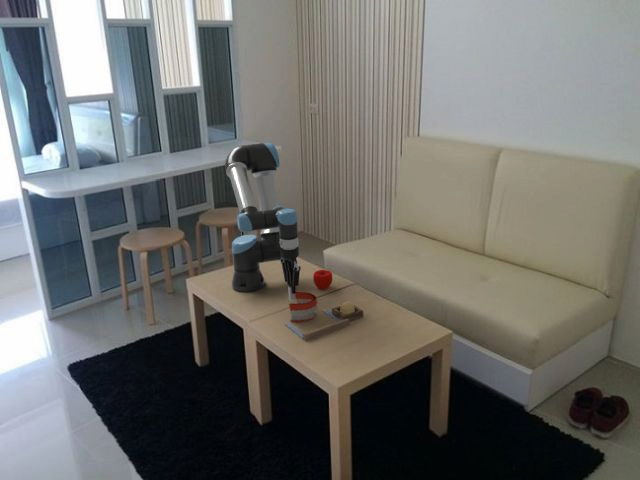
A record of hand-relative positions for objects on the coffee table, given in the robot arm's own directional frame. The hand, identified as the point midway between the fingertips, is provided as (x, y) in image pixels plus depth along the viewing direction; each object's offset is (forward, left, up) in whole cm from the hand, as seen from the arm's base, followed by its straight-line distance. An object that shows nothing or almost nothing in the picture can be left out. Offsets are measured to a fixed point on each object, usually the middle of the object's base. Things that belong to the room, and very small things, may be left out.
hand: (292, 299), depth 241 cm
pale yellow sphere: (+20, +14, -4) cm, 25 cm away
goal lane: (+18, 0, -4) cm, 18 cm away
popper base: (+20, +14, -4) cm, 25 cm away
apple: (-9, +21, -4) cm, 24 cm away
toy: (+9, 0, -4) cm, 10 cm away
